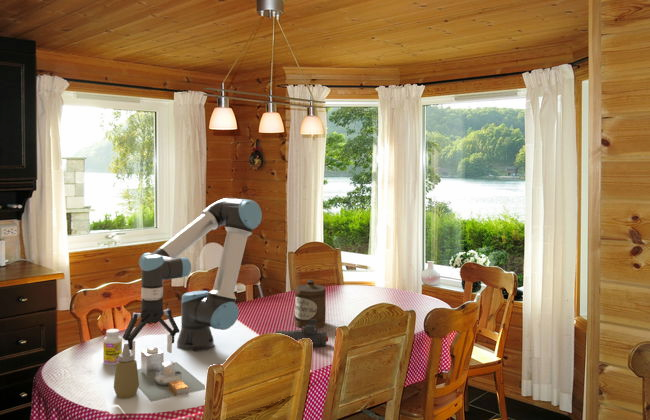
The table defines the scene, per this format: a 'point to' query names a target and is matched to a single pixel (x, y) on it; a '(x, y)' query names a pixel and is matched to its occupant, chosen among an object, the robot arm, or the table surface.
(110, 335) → the supplement bottle
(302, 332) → the laser sight
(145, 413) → the table surface
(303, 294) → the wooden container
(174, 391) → the grey copper fixture base
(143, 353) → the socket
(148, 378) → the mat
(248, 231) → the robot arm
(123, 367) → the squeeze bottle
